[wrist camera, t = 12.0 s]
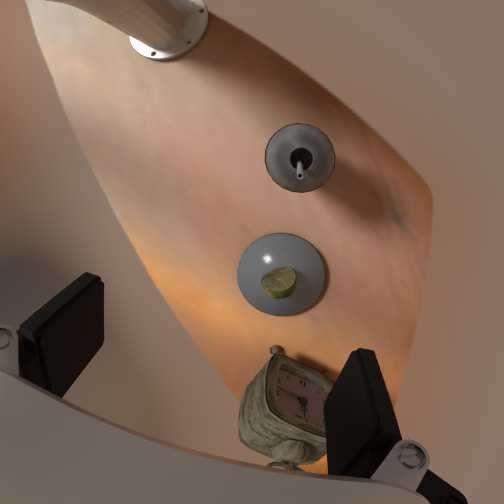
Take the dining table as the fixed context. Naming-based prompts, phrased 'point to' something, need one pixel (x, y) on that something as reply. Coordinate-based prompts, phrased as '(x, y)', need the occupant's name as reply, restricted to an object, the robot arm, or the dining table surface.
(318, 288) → the slate plate
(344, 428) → the robot arm
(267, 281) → the lime
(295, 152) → the beverage cup
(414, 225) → the dining table surface
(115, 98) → the dining table surface
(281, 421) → the tabletop clock
